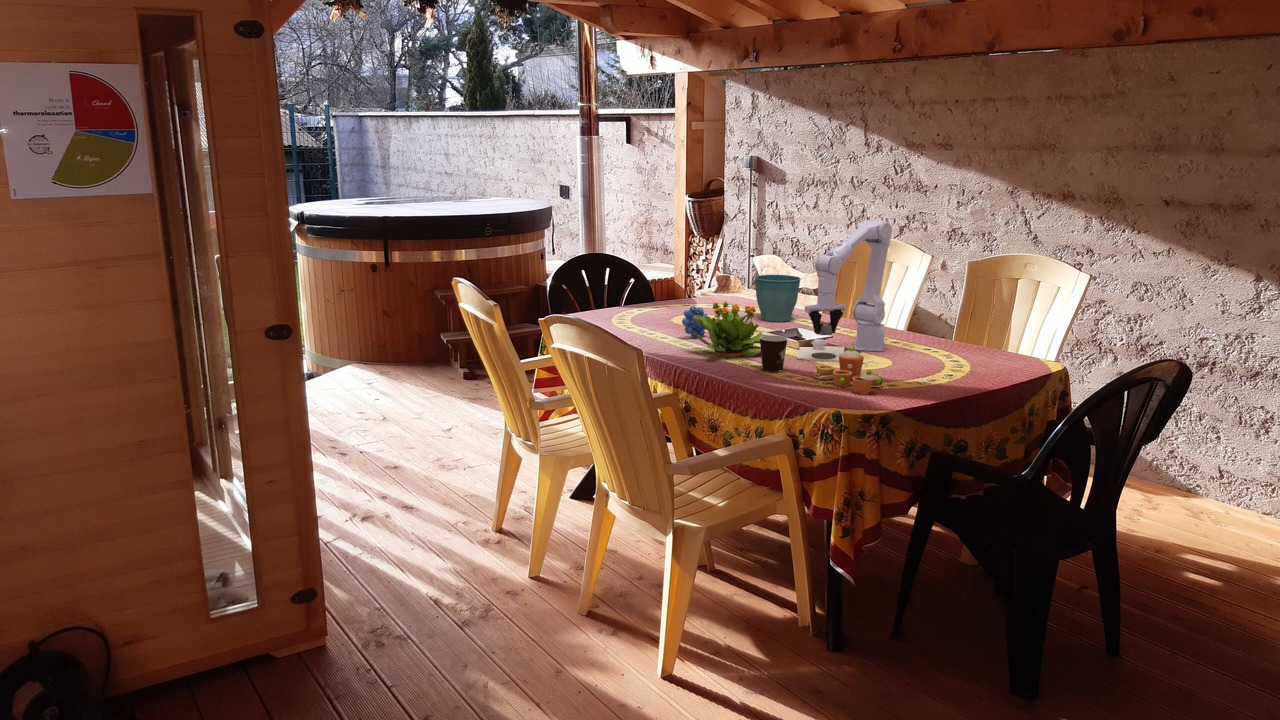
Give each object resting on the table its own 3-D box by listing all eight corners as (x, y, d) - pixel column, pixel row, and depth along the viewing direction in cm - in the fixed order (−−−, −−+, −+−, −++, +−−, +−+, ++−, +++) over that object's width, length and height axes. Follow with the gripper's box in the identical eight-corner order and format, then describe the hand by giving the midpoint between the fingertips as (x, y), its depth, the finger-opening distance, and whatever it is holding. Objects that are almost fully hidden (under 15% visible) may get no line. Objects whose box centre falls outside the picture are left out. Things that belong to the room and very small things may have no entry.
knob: (835, 334, 310) (835, 322, 310) (820, 335, 309) (820, 323, 308) (827, 332, 315) (828, 320, 315) (813, 332, 314) (813, 321, 313)
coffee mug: (769, 373, 294) (770, 342, 291) (753, 367, 301) (754, 336, 299) (799, 369, 299) (800, 338, 296) (783, 363, 306) (784, 333, 304)
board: (844, 348, 328) (844, 338, 327) (843, 361, 309) (843, 351, 308) (800, 346, 331) (800, 336, 330) (796, 359, 312) (797, 348, 311)
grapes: (689, 341, 338) (689, 308, 335) (678, 338, 343) (678, 306, 341) (715, 338, 344) (715, 305, 341) (704, 335, 350) (704, 302, 347)
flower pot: (767, 313, 391) (768, 272, 387) (806, 318, 381) (808, 276, 377) (745, 320, 377) (746, 278, 373) (785, 325, 367) (787, 282, 363)
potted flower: (732, 366, 302) (733, 312, 298) (675, 355, 318) (676, 303, 314) (777, 353, 320) (778, 302, 316) (721, 343, 336) (722, 294, 332)
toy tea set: (806, 376, 291) (808, 346, 289) (849, 372, 297) (850, 341, 295) (857, 398, 268) (858, 364, 266) (901, 392, 274) (904, 359, 272)
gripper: (840, 289, 315) (838, 329, 318) (800, 291, 310) (799, 331, 314) (851, 292, 308) (848, 333, 311) (810, 294, 304) (809, 336, 307)
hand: (824, 333), depth 312 cm, fingers closed on knob, 5 cm apart
